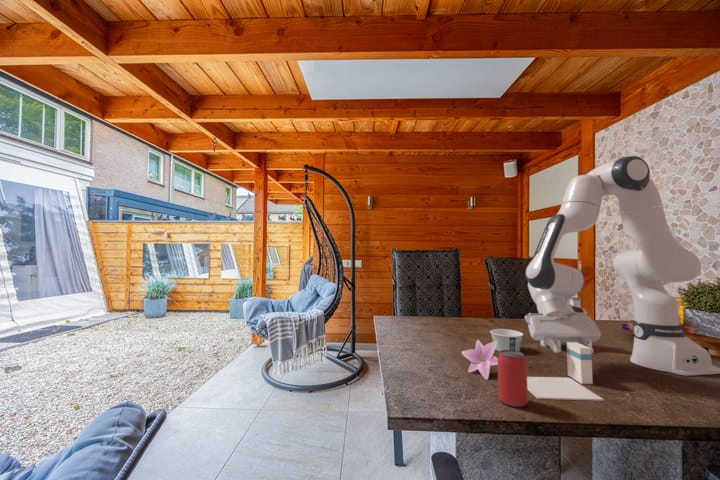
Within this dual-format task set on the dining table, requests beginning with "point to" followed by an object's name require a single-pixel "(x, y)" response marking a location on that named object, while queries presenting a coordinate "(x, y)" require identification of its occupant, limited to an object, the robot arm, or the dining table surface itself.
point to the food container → (507, 339)
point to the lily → (481, 358)
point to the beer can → (512, 378)
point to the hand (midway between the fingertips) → (574, 352)
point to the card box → (579, 362)
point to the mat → (559, 389)
